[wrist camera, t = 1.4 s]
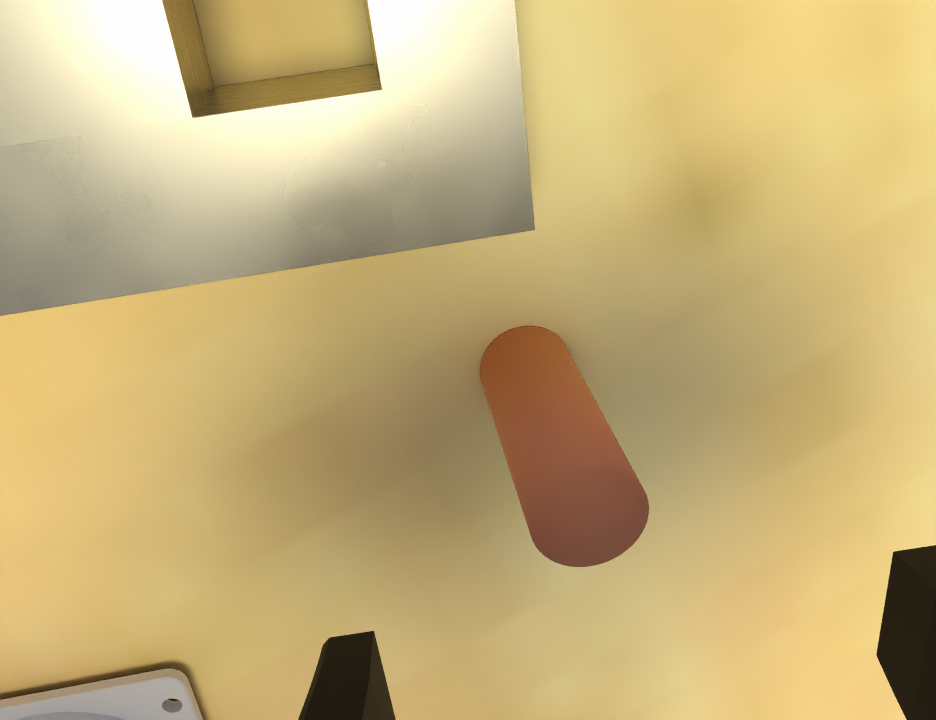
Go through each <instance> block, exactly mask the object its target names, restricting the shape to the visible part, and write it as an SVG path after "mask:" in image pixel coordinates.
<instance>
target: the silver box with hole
mask: <svg viewBox="0 0 936 720" xmlns="http://www.w3.org/2000/svg"><path fill="white" fill-rule="evenodd" d="M364 1H365V7H366V13H367V19H368V26H369V32H370V38H371V44H372V50H373V56H374V63H375V64H370V65H363V66H357V67H350V68H343V69H336V70H329V71H322V72H316V73H309V74H302V75H295V76H288V77H281V78H275V79H268V80H261V81H254V82H247V83H241V84H234V85H227V86H220V87H214V85H213V81H212V77H211V73H210V69H209V65H208V61H207V57H206V53H205V49H204V45H203V41H202V37H201V32H200V28H199V24H198V20H197V16H196V12H195V8H194V4H193V0H0V316H2V315H8V314H15V313H21V312H27V311H33V310H39V309H46V308H52V307H58V306H64V305H71V304H77V303H83V302H89V301H95V300H102V299H108V298H114V297H120V296H126V295H133V294H139V293H145V292H151V291H158V290H164V289H170V288H176V287H182V286H189V285H195V284H201V283H207V282H213V281H220V280H226V279H232V278H238V277H245V276H251V275H257V274H263V273H269V272H276V271H282V270H288V269H294V268H301V267H307V266H313V265H319V264H325V263H332V262H338V261H344V260H350V259H356V258H363V257H369V256H375V255H381V254H388V253H394V252H400V251H406V250H412V249H419V248H425V247H431V246H437V245H444V244H450V243H456V242H462V241H468V240H475V239H481V238H487V237H493V236H499V235H506V234H512V233H518V232H524V231H531V230H535V226H534V214H533V203H532V192H531V180H530V169H529V158H528V146H527V135H526V124H525V112H524V101H523V90H522V78H521V67H520V56H519V44H518V33H517V22H516V10H515V0H364Z"/></svg>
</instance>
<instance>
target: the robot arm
mask: <svg viewBox="0 0 936 720" xmlns="http://www.w3.org/2000/svg"><path fill="white" fill-rule="evenodd" d="M877 657H878V660H879V662H880V664H881V666H882V668H883V671H884V673H885V675H886V677H887V679H888V682H889V684H890V686H891V688H892V690H893V693H894V695H895V697H896V699H897V701H898V703H899V705H900V707H901V709H902V711H903V713H904V715H905V717H906V719H907V720H936V545H934V546H928V547H921V548H915V549H908V550H901V551H895V552H893V557H892V563H891V569H890V575H889V581H888V588H887V594H886V600H885V606H884V612H883V618H882V624H881V630H880V636H879V642H878V649H877ZM174 698H175V699H177V700H178V701H171V700H168V699H174ZM0 720H203V718H202V715H201V713H200V710H199V707H198V705H197V702H196V699H195V696H194V694H193V691H192V688H191V686H190V683H189V680H188V678H187V677H186V675H185V674H184V673H182V672H181V671H179V670H176V669H161V670H156V671H150V672H145V673H140V674H135V675H129V676H124V677H119V678H113V679H108V680H103V681H98V682H92V683H87V684H82V685H76V686H71V687H66V688H61V689H55V690H50V691H45V692H39V693H34V694H29V695H23V696H18V697H13V698H8V699H2V700H0ZM298 720H396V719H395V715H394V711H393V707H392V703H391V699H390V695H389V691H388V687H387V683H386V679H385V674H384V670H383V666H382V662H381V658H380V654H379V650H378V646H377V642H376V638H375V634H374V631H370V632H364V633H357V634H351V635H344V636H337V637H331V638H329V639H328V640H327V641H326V642H325V643H324V644H323V647H322V650H321V654H320V658H319V661H318V664H317V668H316V671H315V674H314V677H313V680H312V683H311V686H310V689H309V692H308V695H307V697H306V700H305V703H304V706H303V708H302V711H301V714H300V716H299V719H298Z"/></svg>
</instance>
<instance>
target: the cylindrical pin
mask: <svg viewBox="0 0 936 720" xmlns="http://www.w3.org/2000/svg"><path fill="white" fill-rule="evenodd" d="M480 377H481V382H482V385H483V388H484V391H485V394H486V397H487V400H488V403H489V407H490V410H491V413H492V416H493V419H494V422H495V425H496V428H497V432H498V435H499V438H500V441H501V444H502V447H503V450H504V453H505V456H506V460H507V463H508V466H509V469H510V472H511V475H512V478H513V481H514V485H515V488H516V491H517V494H518V497H519V500H520V503H521V506H522V509H523V513H524V516H525V519H526V522H527V525H528V528H529V531H530V534H531V537H532V540H533V542H534V544H535V546H536V547H537V549H538V550H539V551H540V552H541V553H542V554H543V555H544V556H546V557H547V558H549V559H550V560H552V561H554V562H556V563H559V564H562V565H566V566H573V567H586V566H593V565H597V564H601V563H604V562H607V561H609V560H611V559H614V558H615V557H617V556H619V555H620V554H622V553H623V552H625V551H626V550H627V549H628V548H630V547H631V546H632V545H633V544H634V543H635V541H636V540H637V539H638V538H639V536H640V535H641V533H642V531H643V529H644V528H645V525H646V522H647V519H648V513H649V505H648V499H647V496H646V493H645V491H644V489H643V487H642V485H641V484H640V482H639V480H638V478H637V476H636V474H635V473H634V471H633V469H632V467H631V465H630V463H629V462H628V460H627V458H626V456H625V454H624V452H623V451H622V449H621V447H620V445H619V443H618V441H617V439H616V438H615V436H614V434H613V432H612V430H611V428H610V427H609V425H608V423H607V421H606V419H605V417H604V416H603V414H602V412H601V410H600V408H599V406H598V405H597V403H596V401H595V399H594V397H593V395H592V394H591V392H590V390H589V388H588V386H587V384H586V382H585V381H584V379H583V377H582V375H581V373H580V371H579V370H578V368H577V366H576V364H575V362H574V360H573V359H572V357H571V355H570V353H569V351H568V349H567V348H566V346H565V344H564V343H563V341H562V340H561V339H560V338H559V337H558V336H557V335H556V334H554V333H553V332H551V331H549V330H547V329H544V328H541V327H535V326H523V327H518V328H514V329H511V330H509V331H507V332H505V333H503V334H501V335H500V336H498V337H497V338H496V339H495V340H494V341H493V342H492V343H491V344H490V345H489V346H488V348H487V349H486V351H485V353H484V355H483V357H482V360H481V364H480Z"/></svg>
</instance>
